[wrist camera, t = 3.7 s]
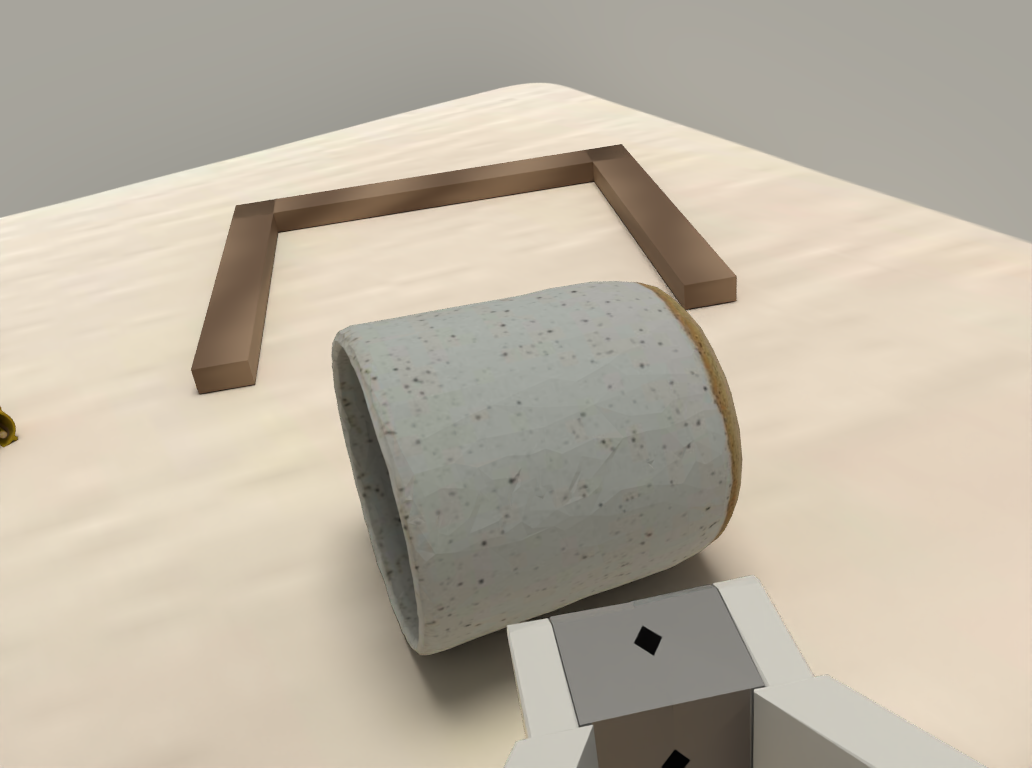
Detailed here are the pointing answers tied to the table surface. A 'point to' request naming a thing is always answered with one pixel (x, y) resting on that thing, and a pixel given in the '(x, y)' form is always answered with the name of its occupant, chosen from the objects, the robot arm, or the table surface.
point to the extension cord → (6, 429)
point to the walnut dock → (255, 226)
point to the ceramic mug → (533, 451)
